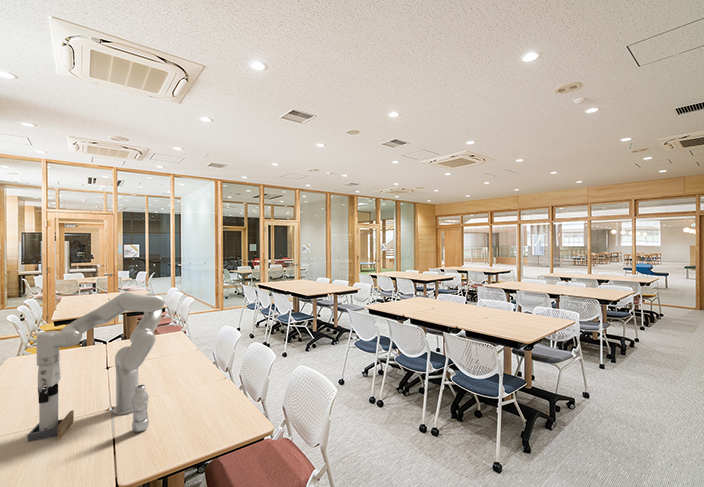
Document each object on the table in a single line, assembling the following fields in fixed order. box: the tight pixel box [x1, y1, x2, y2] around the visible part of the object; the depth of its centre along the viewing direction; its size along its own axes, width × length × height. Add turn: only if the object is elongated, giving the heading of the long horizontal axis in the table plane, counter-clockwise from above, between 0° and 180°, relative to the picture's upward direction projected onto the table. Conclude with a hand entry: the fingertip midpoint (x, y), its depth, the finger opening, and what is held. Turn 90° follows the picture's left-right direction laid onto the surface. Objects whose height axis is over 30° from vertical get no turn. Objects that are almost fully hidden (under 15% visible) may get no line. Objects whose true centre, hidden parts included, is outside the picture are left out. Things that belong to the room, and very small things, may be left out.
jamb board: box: [57, 410, 75, 441], centre depth 149 cm, size 1×14×6 cm, turn 23°
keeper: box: [27, 418, 64, 443], centre depth 147 cm, size 11×10×3 cm
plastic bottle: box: [131, 384, 150, 433], centre depth 149 cm, size 6×7×20 cm
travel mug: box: [38, 385, 59, 432], centre depth 147 cm, size 6×7×20 cm
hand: (48, 397), depth 147 cm, fingers open, 9 cm apart
